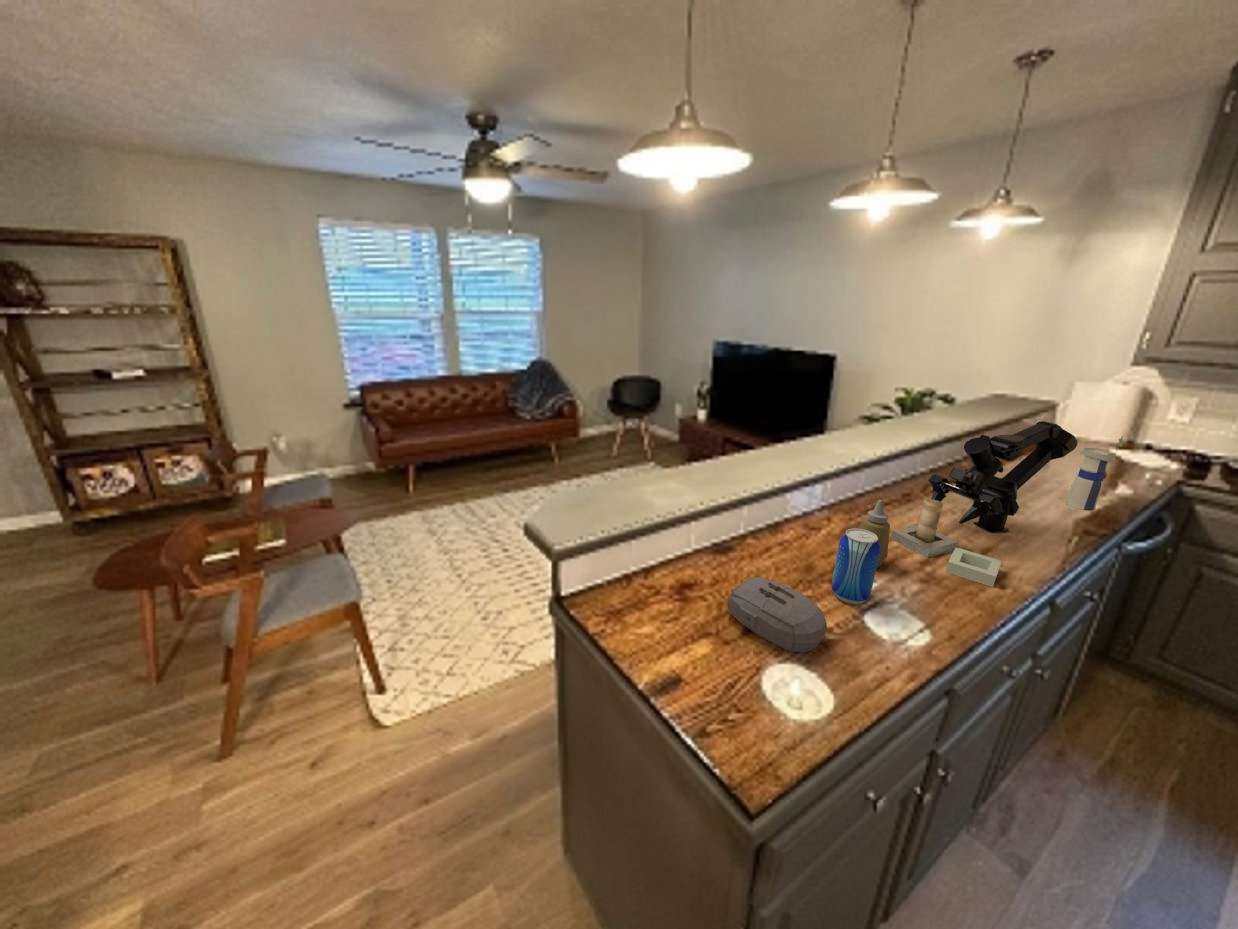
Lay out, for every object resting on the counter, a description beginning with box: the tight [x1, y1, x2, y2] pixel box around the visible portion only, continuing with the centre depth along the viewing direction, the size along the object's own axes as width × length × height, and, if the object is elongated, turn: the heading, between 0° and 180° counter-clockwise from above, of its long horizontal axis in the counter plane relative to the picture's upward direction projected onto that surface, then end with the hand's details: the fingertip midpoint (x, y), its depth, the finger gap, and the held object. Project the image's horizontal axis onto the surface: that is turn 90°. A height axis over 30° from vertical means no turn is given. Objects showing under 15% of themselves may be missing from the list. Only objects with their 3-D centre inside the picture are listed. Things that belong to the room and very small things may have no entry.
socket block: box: [890, 524, 959, 559], centre depth 140 cm, size 12×12×2 cm
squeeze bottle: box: [859, 499, 891, 569], centre depth 127 cm, size 8×8×18 cm
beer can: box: [830, 527, 881, 605], centre depth 114 cm, size 8×8×16 cm
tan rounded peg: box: [915, 498, 944, 544], centre depth 138 cm, size 4×4×13 cm
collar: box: [945, 547, 1002, 588], centre depth 126 cm, size 10×10×3 cm
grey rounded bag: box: [726, 576, 829, 653], centre depth 104 cm, size 15×8×20 cm
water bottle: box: [1064, 436, 1125, 512], centre depth 162 cm, size 8×9×25 cm
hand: (944, 515), depth 140 cm, fingers open, 9 cm apart
